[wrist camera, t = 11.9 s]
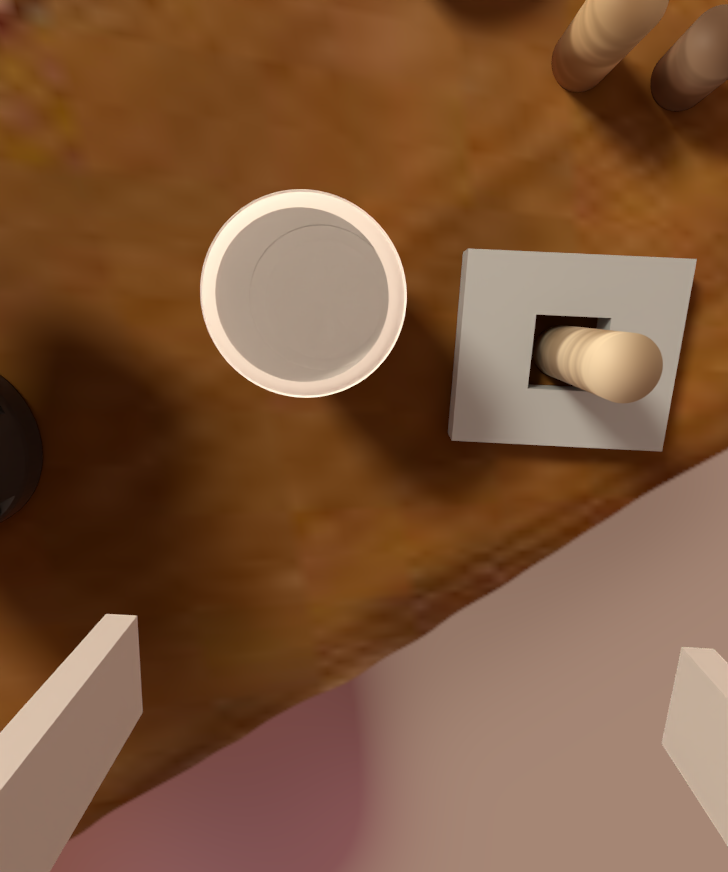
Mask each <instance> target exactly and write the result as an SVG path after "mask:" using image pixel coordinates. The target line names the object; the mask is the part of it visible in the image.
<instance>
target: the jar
mask: <svg viewBox="0 0 728 872" xmlns="http://www.w3.org/2000/svg"><path fill="white" fill-rule="evenodd" d="M200 299H201V307H202V312H203V317H204V320H205V324H206V326H207V329H208V332H209V334H210V336H211V338H212V340H213V342H214V344H215V345H216V347H217V349H218V350H219V352H220V353H221V354H222V356H223V357H224V358H225V359H226V361H227V362H228V363H229V364H230V365H231V366H232V367H233V368H234V369H235V370H236V371H237V372H239V373H240V374H241V375H242V376H244V377H245V378H246V379H248V380H249V381H251V382H252V383H254V384H256V385H258V386H260V387H262V388H264V389H266V390H269V391H272V392H274V393H278V394H281V395H286V396H292V397H303V398H310V397H321V396H327V395H331V394H335V393H338V392H341V391H343V390H346V389H348V388H350V387H352V386H354V385H356V384H358V383H359V382H361V381H362V380H364V379H365V378H367V377H368V376H369V375H370V374H372V373H373V372H374V371H375V370H376V369H377V368H378V367H379V366H380V365H381V364H382V363H383V361H384V360H385V359H386V358H387V356H388V355H389V353H390V352H391V350H392V349H393V347H394V345H395V343H396V341H397V339H398V337H399V334H400V332H401V329H402V326H403V322H404V318H405V312H406V303H407V290H406V280H405V275H404V270H403V267H402V264H401V261H400V258H399V255H398V253H397V251H396V249H395V247H394V245H393V243H392V241H391V240H390V238H389V237H388V235H387V234H386V232H385V231H384V230H383V229H382V227H381V226H380V225H379V224H378V223H377V222H376V221H375V220H374V219H373V218H372V217H371V216H370V215H369V214H367V213H366V212H365V211H364V210H362V209H361V208H359V207H358V206H356V205H355V204H353V203H351V202H350V201H348V200H346V199H343V198H341V197H339V196H336V195H333V194H330V193H326V192H322V191H317V190H308V189H293V190H284V191H279V192H275V193H271V194H268V195H265V196H263V197H260V198H258V199H256V200H254V201H252V202H250V203H249V204H247V205H246V206H244V207H243V208H241V209H240V210H239V211H237V212H236V213H235V214H234V215H233V216H232V217H231V218H230V219H229V220H228V221H227V222H226V223H225V224H224V225H223V226H222V228H221V229H220V230H219V232H218V233H217V235H216V236H215V238H214V240H213V242H212V243H211V245H210V248H209V250H208V252H207V255H206V258H205V261H204V264H203V269H202V274H201V282H200Z"/></svg>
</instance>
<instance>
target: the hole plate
mask: <svg viewBox="0 0 728 872" xmlns="http://www.w3.org/2000/svg"><path fill="white" fill-rule="evenodd" d="M696 260H697V259H683V258H661V257H639V256H618V255H596V254H574V253H552V252H530V251H508V250H487V249H467V250H466V251H464V252H463V260H462V271H461V283H460V295H459V307H458V319H457V331H456V342H455V354H454V366H453V378H452V390H451V402H450V413H449V425H448V435H449V436H450V438H451V440H452V441H468V442H487V443H507V444H526V445H545V446H565V447H584V448H603V449H623V450H642V451H661V452H662V449H663V443H664V438H665V432H666V427H667V421H668V416H669V410H670V405H671V399H672V394H673V388H674V382H675V377H676V371H677V366H678V360H679V355H680V349H681V344H682V338H683V333H684V327H685V321H686V316H687V310H688V305H689V299H690V294H691V288H692V283H693V277H694V272H695V266H696ZM536 315H557V316H578V317H598V321H597V328H596V329H603V330H613V331H622V332H631V333H639V334H642V335H645V336H647V337H648V338H650V339H651V340H652V341H654V343H655V344H656V345H657V346H658V348H659V350H660V352H661V355H662V359H663V370H662V374H661V377H660V380H659V382H658V383H657V385H656V386H655V388H654V389H653V390H652V391H651V392H650V393H649V394H648V395H646V396H645V397H644V398H642V399H640V400H638V401H635V402H631V403H615V402H612V401H609V400H607V399H604V398H602V397H599V396H597V395H595V394H592V393H590V392H587V391H585V390H582V389H580V388H578V387H572V386H552V385H532V384H528V381H529V373H530V364H531V356H532V347H533V339H534V330H535V322H536Z"/></svg>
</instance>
